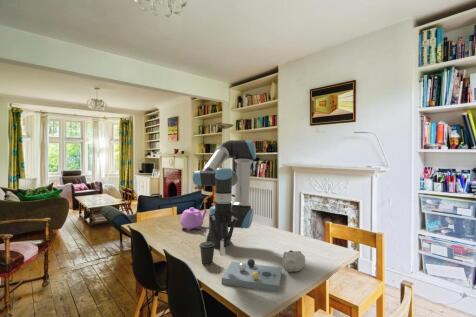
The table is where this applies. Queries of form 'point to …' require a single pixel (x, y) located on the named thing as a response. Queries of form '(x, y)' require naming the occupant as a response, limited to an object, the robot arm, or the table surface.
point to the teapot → (192, 218)
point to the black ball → (250, 262)
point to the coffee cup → (207, 252)
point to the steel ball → (242, 267)
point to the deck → (266, 280)
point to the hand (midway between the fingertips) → (222, 254)
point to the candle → (293, 261)
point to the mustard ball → (255, 275)
